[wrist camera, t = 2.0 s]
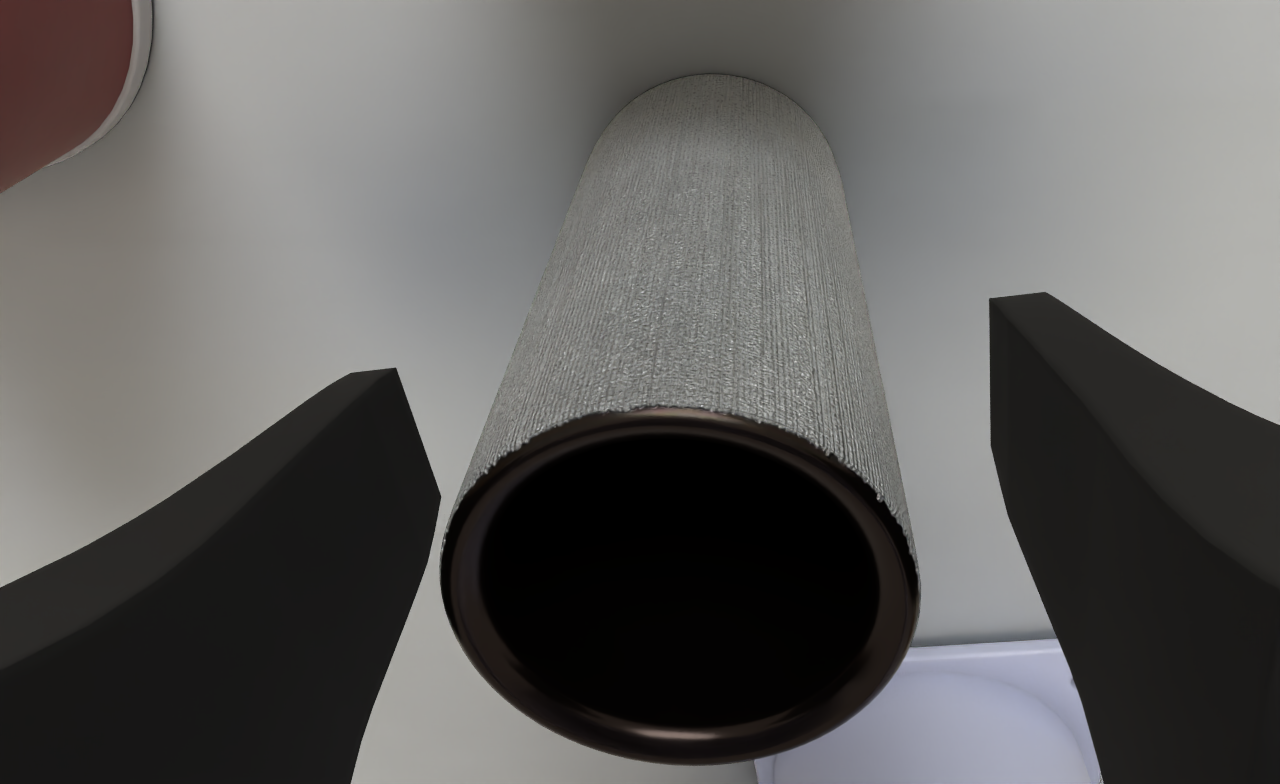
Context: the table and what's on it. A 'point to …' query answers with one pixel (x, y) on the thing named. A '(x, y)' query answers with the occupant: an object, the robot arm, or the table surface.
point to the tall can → (66, 76)
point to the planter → (691, 452)
